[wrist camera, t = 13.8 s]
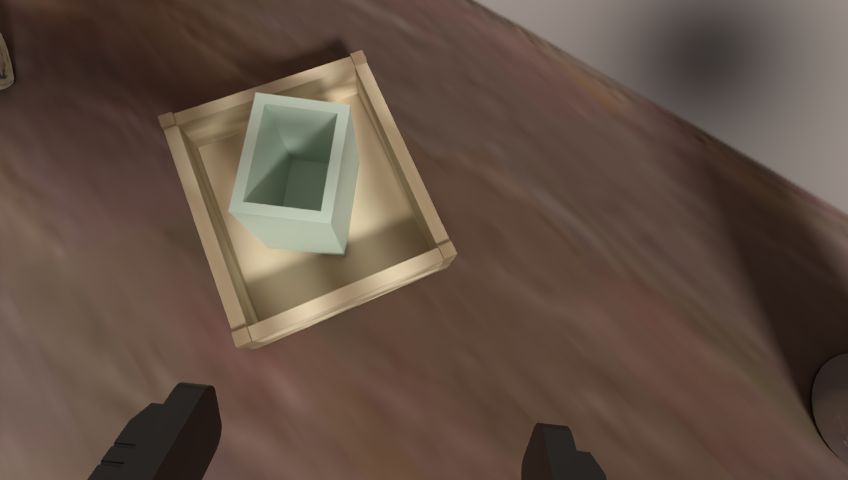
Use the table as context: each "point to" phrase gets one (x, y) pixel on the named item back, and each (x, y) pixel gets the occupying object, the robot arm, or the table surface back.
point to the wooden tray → (293, 270)
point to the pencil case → (5, 66)
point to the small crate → (297, 174)
